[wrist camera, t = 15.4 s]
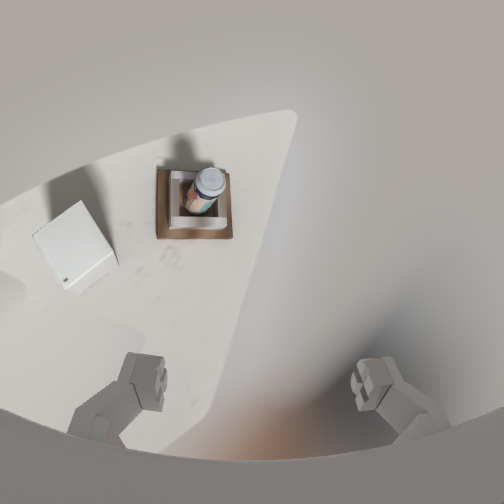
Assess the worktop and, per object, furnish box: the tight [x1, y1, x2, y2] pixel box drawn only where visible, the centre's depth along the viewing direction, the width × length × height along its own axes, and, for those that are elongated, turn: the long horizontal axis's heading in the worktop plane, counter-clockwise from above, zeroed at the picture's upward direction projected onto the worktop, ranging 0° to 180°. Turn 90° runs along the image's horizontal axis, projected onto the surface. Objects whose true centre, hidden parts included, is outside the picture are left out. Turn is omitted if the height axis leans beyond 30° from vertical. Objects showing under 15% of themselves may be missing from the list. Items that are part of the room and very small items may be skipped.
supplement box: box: [32, 200, 119, 294], centre depth 40 cm, size 9×9×15 cm
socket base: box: [157, 170, 233, 239], centre depth 54 cm, size 14×13×4 cm
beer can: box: [184, 167, 226, 215], centre depth 49 cm, size 5×5×12 cm
